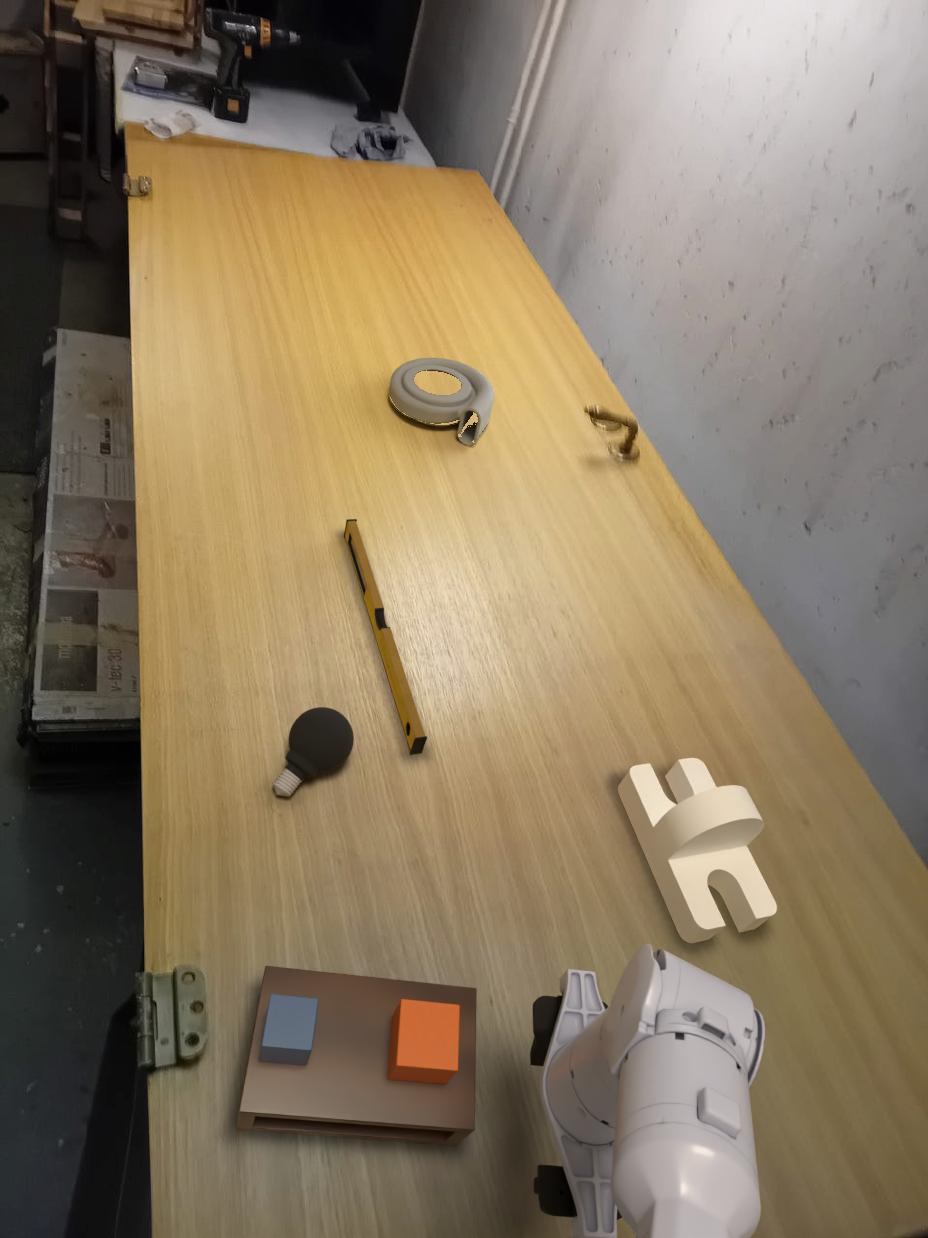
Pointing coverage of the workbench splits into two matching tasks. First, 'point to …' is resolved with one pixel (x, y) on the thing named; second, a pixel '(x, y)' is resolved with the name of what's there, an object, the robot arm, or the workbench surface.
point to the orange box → (424, 1042)
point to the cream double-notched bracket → (699, 847)
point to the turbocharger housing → (444, 396)
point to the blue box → (289, 1029)
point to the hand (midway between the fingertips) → (545, 1122)
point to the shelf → (358, 1065)
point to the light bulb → (315, 747)
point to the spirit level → (385, 640)
